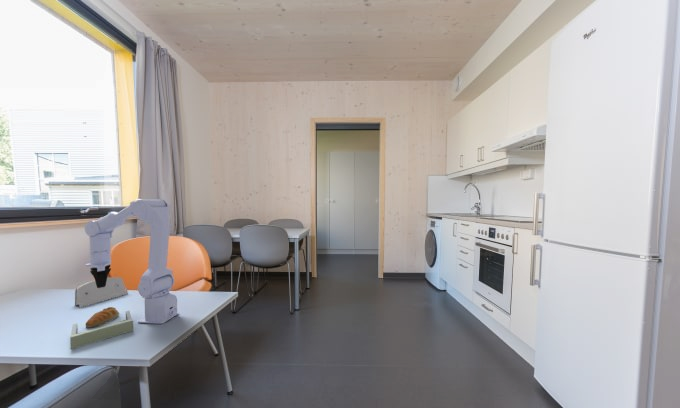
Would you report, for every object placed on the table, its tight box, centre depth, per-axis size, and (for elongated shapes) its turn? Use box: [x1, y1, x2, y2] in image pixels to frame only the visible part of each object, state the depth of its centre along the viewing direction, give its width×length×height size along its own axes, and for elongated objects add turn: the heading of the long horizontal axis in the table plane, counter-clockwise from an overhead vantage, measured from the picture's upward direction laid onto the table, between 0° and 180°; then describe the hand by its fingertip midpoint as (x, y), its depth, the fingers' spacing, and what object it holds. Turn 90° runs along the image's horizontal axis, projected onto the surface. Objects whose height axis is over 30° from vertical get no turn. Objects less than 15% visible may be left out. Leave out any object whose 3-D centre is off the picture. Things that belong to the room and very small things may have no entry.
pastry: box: [85, 306, 120, 328], centre depth 87 cm, size 9×7×4 cm
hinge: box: [74, 276, 129, 308], centre depth 108 cm, size 17×5×10 cm, turn 154°
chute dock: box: [69, 310, 134, 350], centre depth 80 cm, size 12×14×4 cm
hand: (101, 285), depth 95 cm, fingers open, 4 cm apart
